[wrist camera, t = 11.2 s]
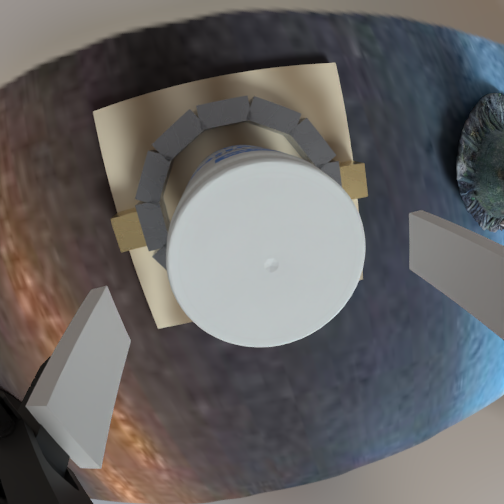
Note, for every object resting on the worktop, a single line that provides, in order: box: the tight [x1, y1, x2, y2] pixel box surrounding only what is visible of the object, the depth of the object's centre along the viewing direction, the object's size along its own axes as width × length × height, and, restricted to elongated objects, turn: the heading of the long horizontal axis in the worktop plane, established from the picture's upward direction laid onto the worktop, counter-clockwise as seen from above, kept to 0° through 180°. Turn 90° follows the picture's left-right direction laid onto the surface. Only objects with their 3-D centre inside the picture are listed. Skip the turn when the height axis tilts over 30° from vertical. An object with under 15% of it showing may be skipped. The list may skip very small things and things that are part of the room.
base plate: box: [93, 63, 363, 329], centre depth 28 cm, size 22×22×1 cm
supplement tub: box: [166, 145, 365, 347], centre depth 20 cm, size 10×10×15 cm
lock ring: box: [111, 96, 368, 270], centre depth 26 cm, size 22×17×2 cm
